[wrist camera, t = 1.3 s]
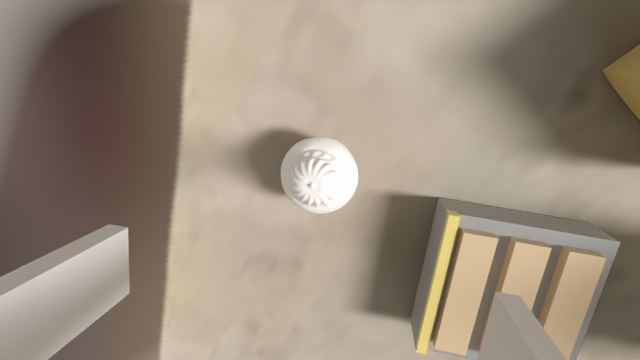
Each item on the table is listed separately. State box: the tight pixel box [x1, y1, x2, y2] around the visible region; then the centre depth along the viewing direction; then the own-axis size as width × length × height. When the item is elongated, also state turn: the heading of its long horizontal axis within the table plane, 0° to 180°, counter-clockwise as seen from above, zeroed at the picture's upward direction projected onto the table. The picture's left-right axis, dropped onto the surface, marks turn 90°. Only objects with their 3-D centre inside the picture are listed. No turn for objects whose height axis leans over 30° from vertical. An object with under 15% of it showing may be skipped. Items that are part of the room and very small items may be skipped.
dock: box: [411, 197, 621, 360], centre depth 29 cm, size 12×12×5 cm
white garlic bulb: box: [281, 137, 358, 213], centre depth 28 cm, size 6×6×7 cm
